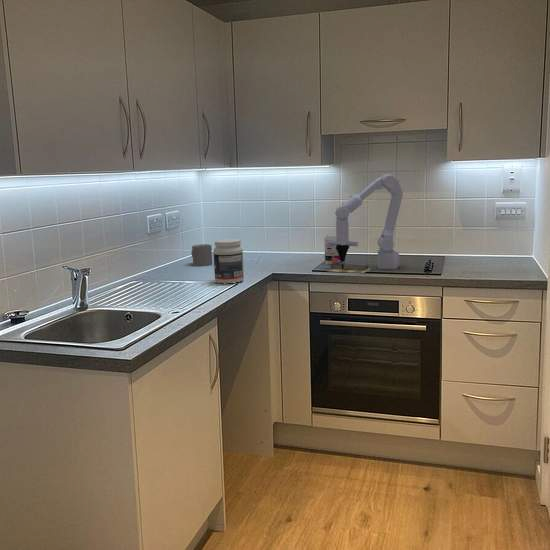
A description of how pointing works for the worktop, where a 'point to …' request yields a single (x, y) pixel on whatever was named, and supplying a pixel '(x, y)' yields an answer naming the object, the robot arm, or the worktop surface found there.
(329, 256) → the supplement can
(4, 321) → the worktop surface
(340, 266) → the tongs body
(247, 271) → the worktop surface
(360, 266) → the bar
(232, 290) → the worktop surface
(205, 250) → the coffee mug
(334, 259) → the tab
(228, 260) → the supplement tub
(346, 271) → the board
